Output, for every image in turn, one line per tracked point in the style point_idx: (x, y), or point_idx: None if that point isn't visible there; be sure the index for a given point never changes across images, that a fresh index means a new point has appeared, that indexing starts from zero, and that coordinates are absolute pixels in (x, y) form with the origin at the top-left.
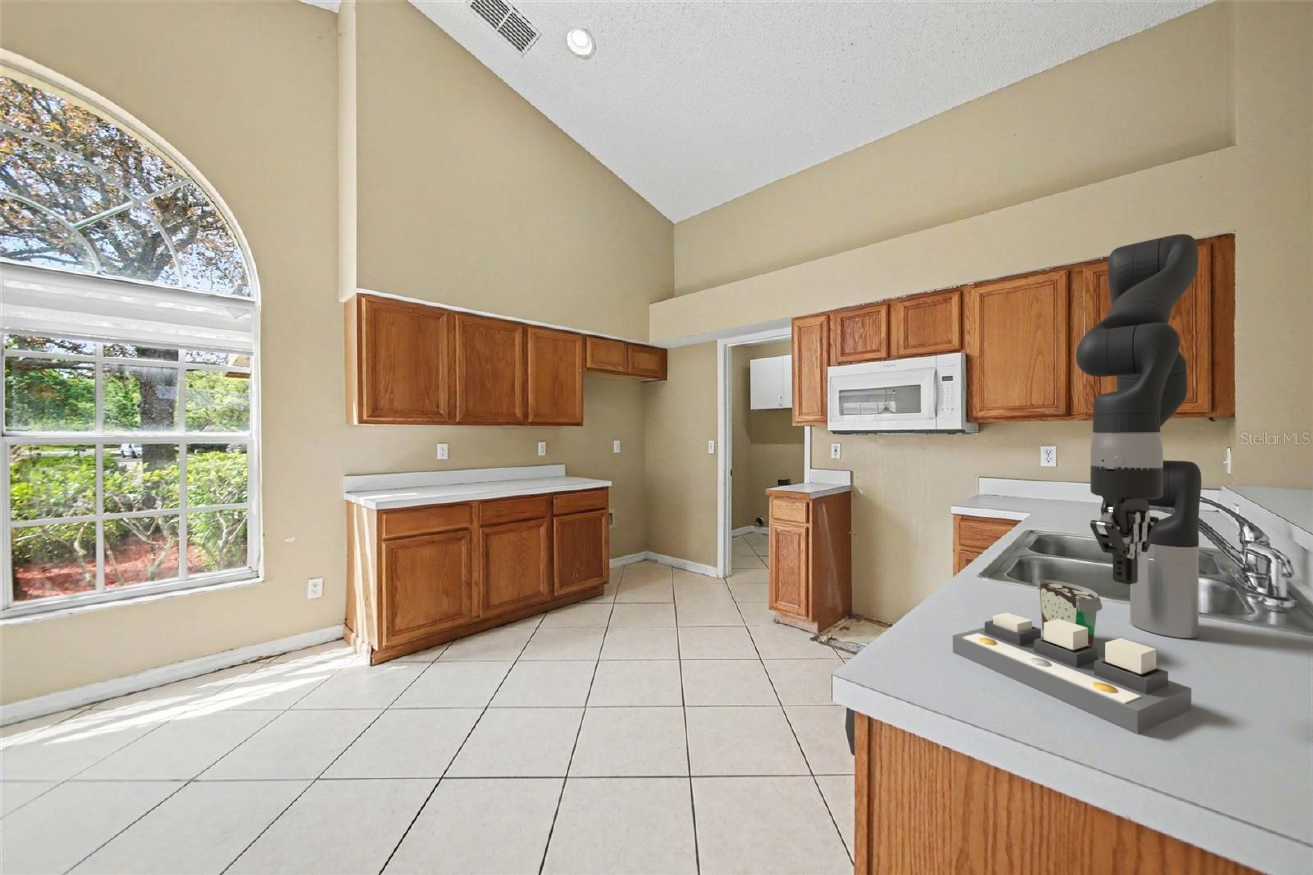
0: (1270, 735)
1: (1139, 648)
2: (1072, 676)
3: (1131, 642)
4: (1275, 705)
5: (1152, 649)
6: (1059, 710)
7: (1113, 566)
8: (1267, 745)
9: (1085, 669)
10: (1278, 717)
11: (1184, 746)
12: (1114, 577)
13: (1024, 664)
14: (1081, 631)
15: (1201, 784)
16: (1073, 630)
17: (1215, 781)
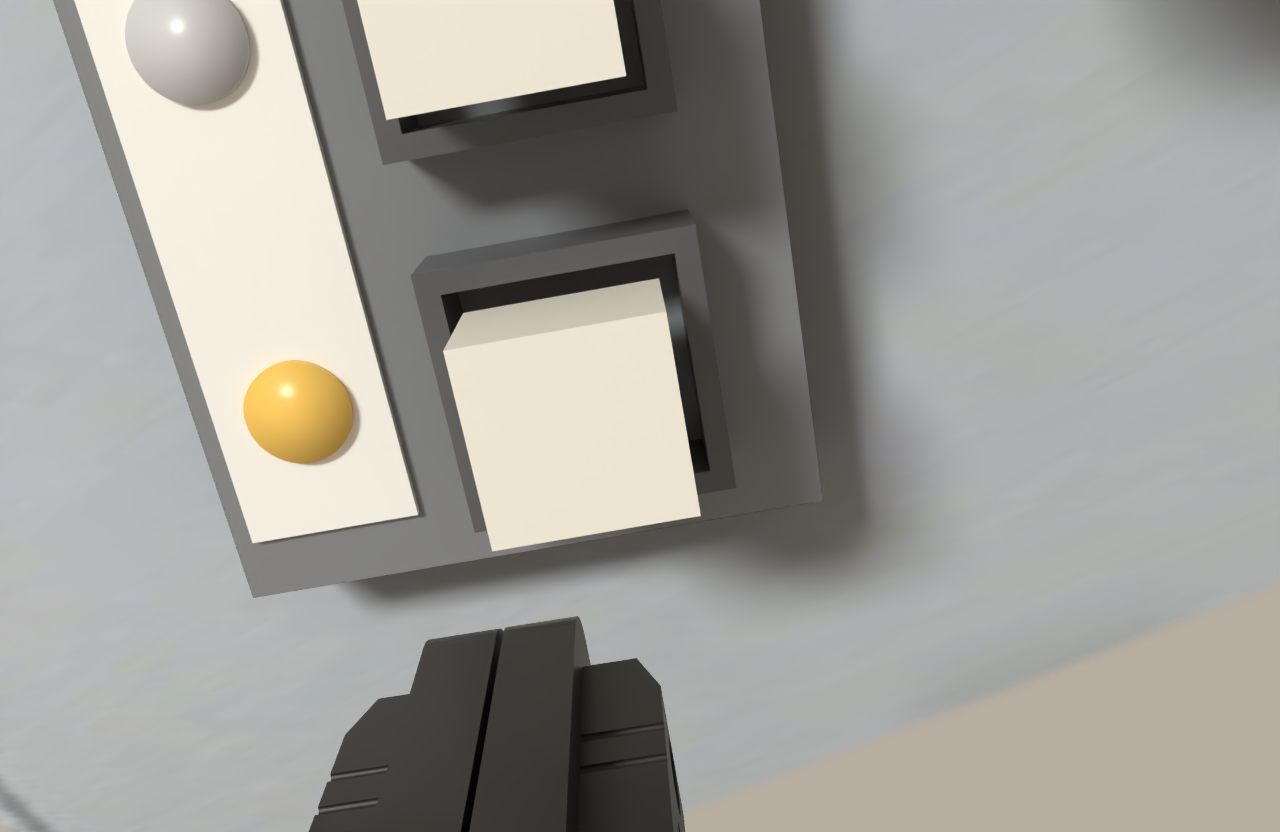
0: (874, 660)
1: (592, 482)
2: (234, 259)
3: (654, 394)
4: (1262, 514)
5: (663, 516)
6: (88, 311)
7: (396, 766)
8: (761, 700)
9: (441, 188)
10: (1115, 582)
11: (402, 640)
12: (368, 713)
13: (61, 19)
14: (522, 93)
15: (197, 794)
16: (426, 92)
17: (269, 793)
